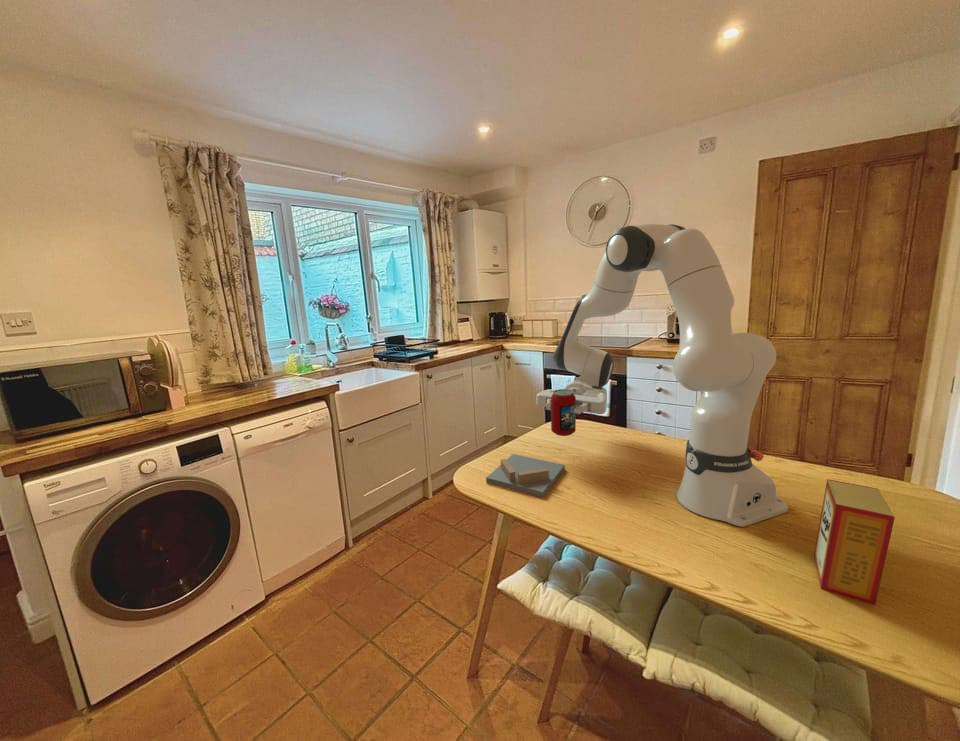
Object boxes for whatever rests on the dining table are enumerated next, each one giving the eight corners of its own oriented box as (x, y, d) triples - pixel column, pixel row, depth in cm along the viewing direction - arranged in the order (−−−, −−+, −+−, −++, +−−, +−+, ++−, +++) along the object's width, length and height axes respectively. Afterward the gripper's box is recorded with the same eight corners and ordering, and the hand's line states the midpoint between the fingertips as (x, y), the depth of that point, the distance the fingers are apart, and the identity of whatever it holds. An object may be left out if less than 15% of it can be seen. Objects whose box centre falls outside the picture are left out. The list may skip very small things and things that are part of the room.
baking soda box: (813, 555, 73) (827, 477, 69) (861, 568, 70) (878, 486, 66) (821, 588, 66) (836, 503, 62) (875, 605, 62) (895, 515, 58)
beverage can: (569, 439, 106) (569, 397, 103) (546, 434, 110) (546, 393, 107) (579, 430, 111) (579, 390, 109) (557, 426, 115) (557, 387, 113)
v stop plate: (513, 458, 117) (512, 446, 116) (564, 469, 109) (564, 456, 108) (486, 482, 104) (485, 468, 103) (542, 497, 96) (542, 482, 95)
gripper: (545, 382, 124) (527, 394, 113) (612, 389, 114) (598, 402, 102) (546, 401, 126) (527, 414, 114) (611, 409, 115) (598, 425, 104)
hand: (562, 409), depth 108 cm, fingers closed on beverage can, 7 cm apart
